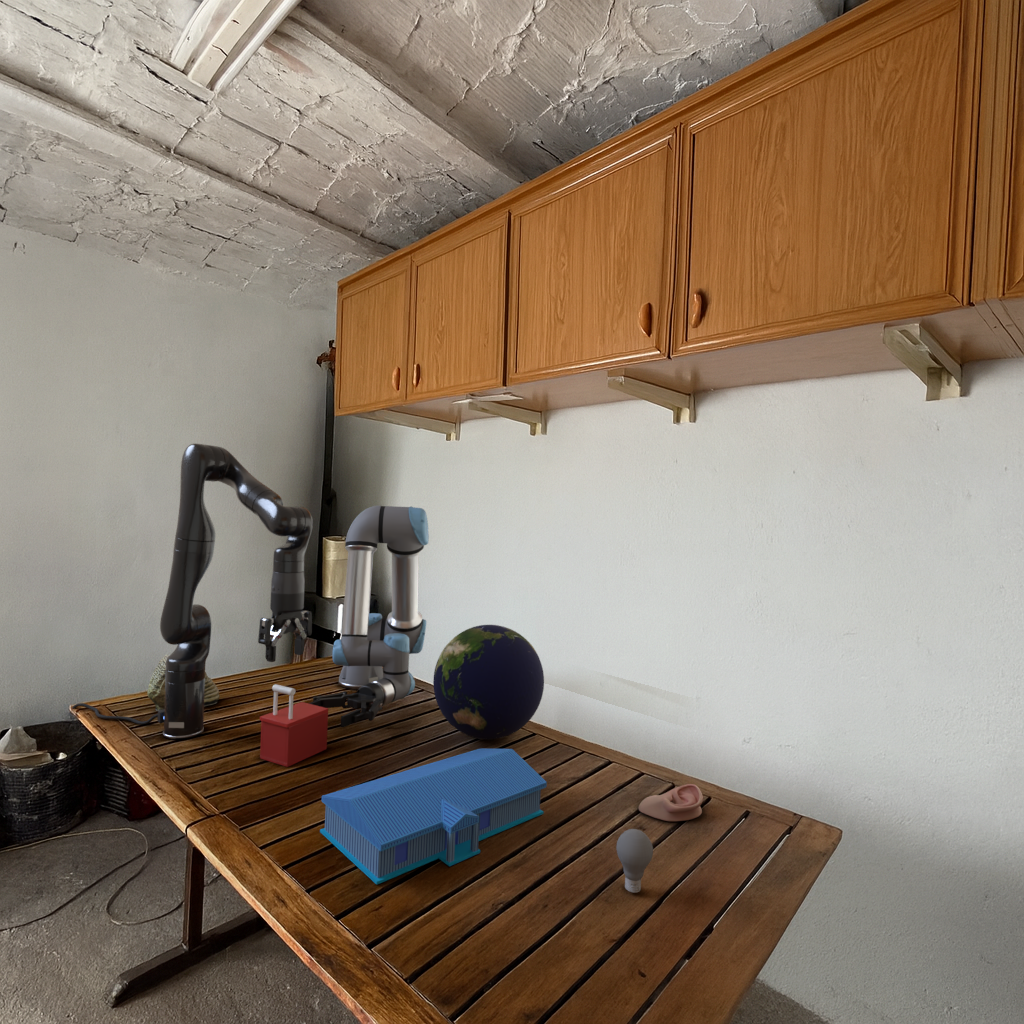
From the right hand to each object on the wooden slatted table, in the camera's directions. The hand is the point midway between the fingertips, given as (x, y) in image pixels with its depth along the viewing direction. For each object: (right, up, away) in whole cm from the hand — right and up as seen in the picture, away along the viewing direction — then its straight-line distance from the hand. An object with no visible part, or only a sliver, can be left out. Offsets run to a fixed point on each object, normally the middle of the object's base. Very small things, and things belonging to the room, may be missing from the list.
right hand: (321, 716), depth 161 cm
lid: (-4, +2, -7) cm, 8 cm away
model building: (+35, -9, -37) cm, 52 cm away
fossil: (-47, -5, +24) cm, 53 cm away
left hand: (-6, +17, -10) cm, 21 cm away
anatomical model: (+82, -11, -27) cm, 87 cm away
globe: (+42, -9, +11) cm, 44 cm away
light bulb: (+69, -11, -56) cm, 89 cm away
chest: (-5, -7, -6) cm, 11 cm away
